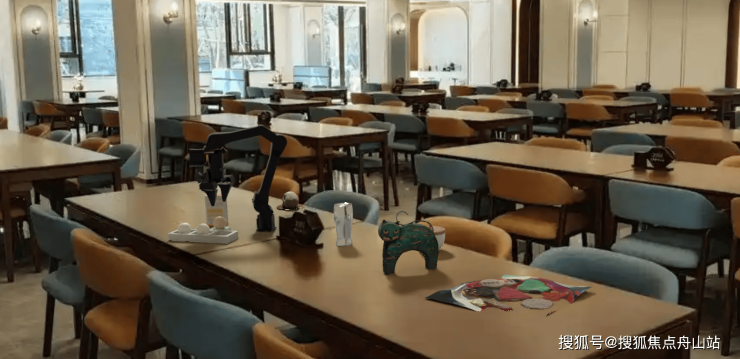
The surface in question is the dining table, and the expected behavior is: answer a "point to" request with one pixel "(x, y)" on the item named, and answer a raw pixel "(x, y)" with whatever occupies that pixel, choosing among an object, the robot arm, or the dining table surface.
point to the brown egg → (219, 222)
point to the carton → (202, 234)
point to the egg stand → (222, 229)
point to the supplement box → (216, 210)
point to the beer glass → (343, 223)
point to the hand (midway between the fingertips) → (218, 203)
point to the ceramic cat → (407, 243)
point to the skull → (289, 201)
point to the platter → (509, 293)
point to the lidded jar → (439, 234)
